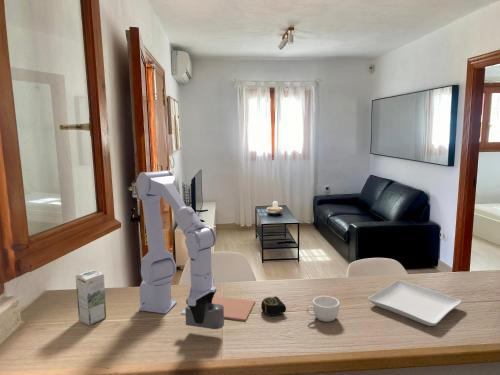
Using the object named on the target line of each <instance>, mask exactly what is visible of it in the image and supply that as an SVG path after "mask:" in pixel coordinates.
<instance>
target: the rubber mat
mask: <svg viewBox="0 0 500 375" xmlns="http://www.w3.org/2000/svg"><path fill="white" fill-rule="evenodd" d="M212 303H213V304H220V305H222V306H223V307H224V320H225V319H226V320H233V321H241V322H242V321H243V322H247V319H248V317H249V315H250V314H251V312H252V309H253V307H254V306H255V304H256V300H250V299H241V298H233V297H225V296H224V297H223V296H215V295H214V297H213V300H212Z"/></svg>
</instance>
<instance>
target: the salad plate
mask: <svg viewBox="0 0 500 375" xmlns="http://www.w3.org/2000/svg"><path fill="white" fill-rule="evenodd" d="M367 299H368V301H369V302H370V303H371V304H373V305H374V306H377V307H378V308H381V309H384V310H387V311H389V312H392V313H395V314H397V315H399V316H402V317H405V318H408V319H409V320H412V321H414V322H418V323H419V324H423V325H425V326H429V327H433V326H436V325H438V323H439V322H441V321H442V319H444V317H446V316H447V315H448V314H449V313H450V312H451V311H452V310H454V309H455V308H457V307H458V306H459V305H460V304H461V303H462V300H461V299H459V298H456V297H453V296H451V295H447V294H444V293H441V292H438V291H435V290H433V289H430V288H426V287H423V286H419V285H417V284H414V283H410V282H408V281H404V280H401V279H397V280H395V281H394V282H392V283H391V284H390V283H389V285H387V286H385V287H384V288H382V289H381V290H379V291H377V292H375V293H374V294H372V295H370V296H368V297H367Z"/></svg>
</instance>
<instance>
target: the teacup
mask: <svg viewBox="0 0 500 375" xmlns="http://www.w3.org/2000/svg"><path fill="white" fill-rule="evenodd" d="M310 308H311V309H312V311H313V312H309V310H310ZM339 311H340V301H339V299H337V298H336V297H333V296H329V295H319V296H316V297H314V298H313V300H312V305H309V306H307V307H306V314H308V315H311V316H315V317H316V319H317V320H319V321H321V322H325V323H330V322H333V321H334V320H336V319H337V317H338V315H339Z"/></svg>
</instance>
